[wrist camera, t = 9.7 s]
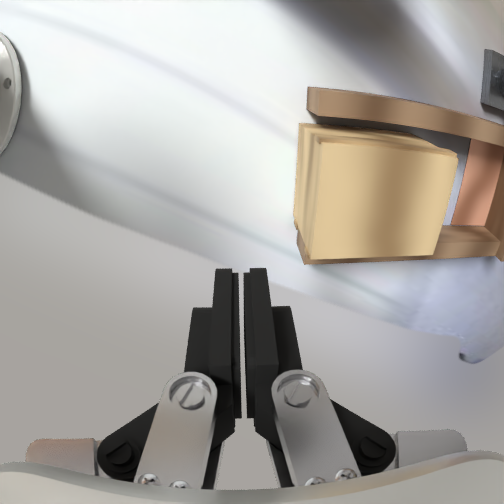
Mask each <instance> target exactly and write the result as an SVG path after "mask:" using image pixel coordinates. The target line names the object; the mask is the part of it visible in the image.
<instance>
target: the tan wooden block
mask: <svg viewBox="0 0 504 504" xmlns="http://www.w3.org/2000/svg"><path fill="white" fill-rule="evenodd" d="M458 159H459V158H457V154H456V153H455V152H453V151H451V150H449V149H445V148H439V147H437V146H435V145H433V144H431V143H429V142H427V141H425V140H423V139H422V138H420V137H418V136H416V135H413V134H409V133H402V132H395V131H387V130H379V129H370V128H361V127H350V126H338V125H325V124H307V123H299V136H298V153H297V169H296V184H295V198H294V211H293V215H294V218H295V219H294V224H295V227H296V230H299V231H300V233H301V236H302V238H303V241H304V243H305V248H304V251H305V254H306V256H307V259H341V258H369V257H395V256H420V255H433V253H434V250H435V247H436V244H437V241H438V237H439V234H440V231H441V227H442V224H443V221H444V217H445V214H446V210H447V206H448V202H449V199H450V195H451V191H452V187H453V182H454V178H455V174H456V169H457V164H458Z"/></svg>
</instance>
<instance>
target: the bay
mask: <svg viewBox="0 0 504 504" xmlns="http://www.w3.org/2000/svg"><path fill="white" fill-rule="evenodd" d="M307 110H309V111H311V112H312V113H314V114H316V115H317V116H327V117H340V118H351V119H360V120H369V121H377V122H385V123H392V124H399V125H406V126H412V127H418V128H424V129H429V130H435V131H440V132H445V133H450V134H454V135H459V136H463V137H468V138H471V142H470V148H469V153H468V158H467V163H466V167H465V172H464V176H463V180H462V185H461V189H460V193H459V197H458V200H457V204H456V208H455V211H454V215H453V218H452V222H451V225H478V226H444V225H442V227H441V231H440V234H439V237H438V241H437V244H436V247H435V250H434V253H433V255H420V256H395V257H369V258H341V259H307V256H306V254H305V251H304V248H305V243H304V241H303V238H302V236H301V233H300V231H299V230H298V234H297V245H298V248H299V251H300V254H301V257H302V260H303V263H304V265H306V264H333V263H358V262H382V261H404V260H425V259H445V258H464V257H482V256H496V257H497V258H498V259H499V260H500V261H504V125H501V124H498V123H495V122H492V121H489V120H485V119H482V118H479V117H476V116H472V115H469V114H465V113H461V112H458V111H454V110H450V109H446V108H442V107H438V106H434V105H429V104H425V103H420V102H415V101H411V100H405V99H400V98H395V97H389V96H383V95H377V94H370V93H363V92H355V91H347V90H339V89H329V88H317V87H308V91H307Z"/></svg>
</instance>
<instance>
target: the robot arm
mask: <svg viewBox="0 0 504 504" xmlns="http://www.w3.org/2000/svg"><path fill="white" fill-rule="evenodd" d="M21 93H22V86H21V72H20V66H19V61H18V58H17V56H16V53H15V50H14V48H13V46H12V45H11V43H10V41H9V40H8V39H7V38H6V37H5V36H4V35H3V34H2V33H0V155H1V154H2V152H3V151H4V149H5V148H6V147H7V145H8V143H9V141H10V139H11V137H12V135H13V132H14V129H15V126H16V123H17V120H18V115H19V110H20V105H21ZM238 281H239V280H238V273H232V269H216V271H215V282H214V294H213V295H214V296H213V306H212V308H193V311H192V317H191V324H190V332H189V339H188V346H187V354H186V361H185V370H184V373H180V374H178V375H176V376H174V377H172V378H171V379H170V380H169V381H168V382H167V384H166V386H165V387H164V390H163V393H162V396H161V399H160V401H159V403H157V404H156V405H154V406H153V407H152V408H150V409H149V410H147V411H146V412H144V413H143V414H141V415H140V416H138V417H137V418H135V419H134V420H132V421H131V422H129V423H128V424H126V425H124V426H123V427H121V428H120V429H118V430H117V431H115V432H114V433H112V434H111V435H109V436H107V437H106V438H105V439H104V440H98V441H95V440H94V439H93V438H84V439H37V440H35V441H34V442H32V443H31V444H30V445H29V447H28V448H27V452H26V460H25V462H10V463H4V464H0V504H504V456H503V455H501V454H499V453H496V452H491V451H481V450H477V451H467V444H466V441H465V438H464V437H463V436H462V435H461V434H460V433H459V432H457V431H456V430H450V429H446V430H428V431H398V432H397V433H396V434H388V433H387V432H385V431H384V430H382V429H380V428H379V427H377V426H375V425H374V424H372V423H370V422H368V421H367V420H365V419H363V418H361V417H360V416H358V415H356V414H354V413H353V412H351V411H349V410H348V409H346V408H344V407H342V406H341V405H339V404H338V403H336V402H334V401H333V400H331V399H330V398H329V395H328V393H327V390H326V388H325V386H324V384H323V382H322V381H321V379H320V378H319V377H317V376H316V375H315V374H313V373H311V372H309V371H305V370H303V369H302V363H301V358H300V353H299V348H298V342H297V337H296V332H295V327H294V322H293V317H292V311H291V308H290V306H277V307H271V300H270V292H269V285H268V277H267V270H266V268H250V273H244V342H245V343H244V345H245V374H246V398H247V418H254V426H255V431H256V432H257V433H258V434H260V435H261V436H262V437H264V438H265V439H266V443H267V447H268V451H269V455H270V459H271V462H272V466H273V470H274V474H275V478H276V481H277V485H278V488H276V489H257V490H216V487H217V480H218V475H219V470H220V465H221V458H222V454H223V448H224V440H226V438H228V437H229V436H230V435H232V434H233V433H234V432H235V430H234V427H235V418H242V414H241V413H242V412H241V373H240V326H239V282H238Z"/></svg>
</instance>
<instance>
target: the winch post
mask: <svg viewBox="0 0 504 504" xmlns="http://www.w3.org/2000/svg"><path fill="white" fill-rule="evenodd" d="M481 103H484V104H487V105H490V106H493V107H495V108H498V109H501V110H503V111H504V56H503V55H501V54H499V53H497V52H495V51H493V50H488V49H485V56H484V72H483V84H482V94H481Z"/></svg>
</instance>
